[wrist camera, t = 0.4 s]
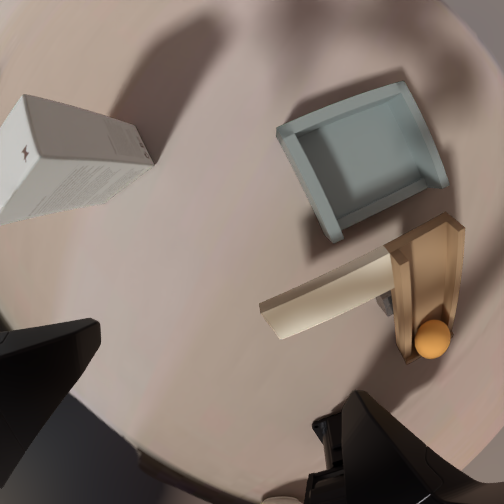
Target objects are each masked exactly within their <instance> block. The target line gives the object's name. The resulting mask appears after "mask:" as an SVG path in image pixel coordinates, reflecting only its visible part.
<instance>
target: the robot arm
mask: <svg viewBox="0 0 504 504" xmlns="http://www.w3.org/2000/svg"><path fill="white" fill-rule="evenodd" d="M100 344H101V328H100V323H99V322H98V321H96V320H94V319H92V318H86V319H80V320H75V321H69V322H63V323H57V324H51V325H45V326H39V327H33V328H26V329H20V330H13V331H10V332H9V331H6V332H0V488H1V489H2V488H3V487H4V485H5V483H6V482H7V480H8V478H9V477H10V475H11V474H12V472H13V470H14V469H15V467H16V466H17V464H18V463H19V461H20V460H21V458H22V457H23V455H24V454H25V451H26V450H27V449H28V447H29V446H30V444H31V443H32V441H33V440H34V439H35V437H36V436H37V434H38V433H39V432H40V430H41V429H42V427H43V426H44V425H45V423H46V422H47V420H48V419H49V418H50V416H51V415H52V414H53V412H54V411H55V409H56V408H57V407H58V405H59V404H60V403H61V401H62V400H63V399H64V397H65V396H66V395H67V394H68V392H69V391H70V390H71V388H72V387H73V386H74V385H75V383H76V382H77V381H78V379H79V378H80V377H81V375H82V374H83V372H84V371H85V369H86V367H87V366H88V364H89V363H90V361H91V359H92V358H93V356H94V355H95V353H96V351H97V350H98V348H99V347H100ZM312 429H313V430H314V432H315V433H316V435H317V436H318V438H319V439H320V441H321V442H322V444H323V445H324V452H325V460H326V468H327V470H325V471H321V472H318V473H311V474H309V477H308V480H307V487H306V494H305V500H304V504H504V482H498V483H482V482H478V481H476V480H474V479H472V478H471V477H469V476H468V475H466V474H465V473H463V472H462V471H460V470H459V469H457V468H456V467H454V466H453V465H451V464H450V463H448V462H447V461H446V460H444V459H443V458H442V457H440V456H439V455H438V454H437V453H435V452H434V451H433V450H432V449H431V448H429V447H428V446H426V444H425V443H423V442H422V441H421V440H420V439H419V438H418V437H416V436H415V435H414V434H413V433H412V432H411V431H409V430H408V429H407V428H406V427H405V426H404V425H403V424H401V423H400V422H399V421H398V420H397V419H396V418H395V417H393V416H392V415H391V414H390V413H389V412H388V411H387V410H385V409H384V408H383V407H382V406H381V405H380V404H379V403H378V402H376V401H375V400H374V399H373V398H372V397H371V396H370V395H369V394H368V393H366V392H365V391H361V390H354V391H353V392H352V393H351V394H350V396H349V398H348V399H347V401H346V403H345V404H344V406H343V409H342V413H339V414H336V415H333V416H331V417H328V418H325V419H322V420H319V421H316V422H314V423H312Z"/></svg>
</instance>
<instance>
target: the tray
mask: <svg viewBox="0 0 504 504" xmlns="http://www.w3.org/2000/svg"><path fill="white" fill-rule="evenodd" d="M276 137H277V139H278V141H279V143H280V144H281V146H282V148H283V150H284V152H285V154H286V156H287V158H288V160H289V162H290V163H291V165H292V167H293V169H294V171H295V173H296V175H297V177H298V179H299V181H300V183H301V185H302V187H303V190H304V192H305V194H306V196H307V198H308V200H309V202H310V204H311V206H312V208H313V211H314V213H315V215H316V217H317V219H318V221H319V224H320V226H321V228H322V230H323V233H324V235H325V236H326V237H327V238H328V239H329V240H330V241H331V242H332V243H333V244H334V243H336V242H338V241H340V240H342V239H344V237H343V234H342V232H341V230H344V229H346V228H348V227H350V226H352V225H354V224H356V223H358V222H360V221H362V220H364V219H366V218H368V217H370V216H372V215H374V214H376V213H378V212H380V211H382V210H384V209H387V208H389V207H391V206H393V205H395V204H397V203H399V202H401V201H403V200H405V199H407V198H409V197H411V196H413V195H415V194H417V193H419V192H420V191H422V190H424V189H426V188H439V189H443V188H445V187H447V186H449V185H450V184H449V181H448V178H447V175H446V172H445V169H444V166H443V164H442V161H441V158H440V156H439V153H438V151H437V148H436V146H435V143H434V141H433V138H432V136H431V134H430V131H429V129H428V127H427V125H426V122H425V120H424V118H423V116H422V114H421V112H420V110H419V108H418V106H417V104H416V102H415V100H414V98H413V96H412V94H411V93H410V91H409V89H408V87H407V85H406V84H405V82H404V81H400V82H397V83H393V84H390V85H386V86H383V87H380V88H377V89H374V90H371V91H368V92H365V93H362V94H359V95H356V96H353V97H350V98H348V99H345V100H342V101H339V102H337V103H334V104H331V105H329V106H326V107H324V108H321V109H319V110H316V111H314V112H311V113H309V114H307V115H304V116H302V117H299V118H297V119H295V120H293V121H290V122H288V123H286V124H284V125H281V126H279V127H277V129H276Z"/></svg>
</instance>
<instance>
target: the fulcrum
mask: <svg viewBox="0 0 504 504" xmlns="http://www.w3.org/2000/svg"><path fill="white" fill-rule="evenodd" d="M376 300H377V303H378V305H379V306H380V307H381V309H382V310H383V311H384V312H385V314H386V315H387V316H390V315H392V314H394V312H393V304H392V296H391V290H389V291H387V292H385V293H383V294H381V295H379V296H377V297H376Z"/></svg>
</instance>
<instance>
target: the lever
mask: <svg viewBox="0 0 504 504" xmlns="http://www.w3.org/2000/svg"><path fill="white" fill-rule="evenodd" d="M464 240H465V227H464V226H463V225H461V224H460V223H459V222H458V221H456V220H455V219H454V218H453V217H452V216H450V215H449V214H448V213H446V212H444V213H442V214H440V215H439V216H437V217H435V218H433V219H431V220H430V221H428V222H426V223H424V224H422V225H421V226H419V227H417V228H415V229H413V230H411V231H410V232H408V233H406V234H404V235H402V236H400V237H398V238H396V239H394V240H393V241H391V242H389V243H387V244H385V245H383V246H381V247H379V248H377V249H375V250H373V251H371V252H369V253H367V254H365V255H363V256H361V257H359V258H357V259H355V260H353V261H351V262H349V263H347V264H345V265H343V266H341V267H339V268H337V269H334V270H332V271H330V272H328V273H326V274H324V275H322V276H320V277H317V278H315V279H313V280H311V281H309V282H307V283H304V284H302V285H300V286H298V287H296V288H293V289H291V290H289V291H287V292H284V293H282V294H280V295H278V296H275V297H273V298H271V299H269V300H266V301H264V302H262V303H259V307H260V313H261V315H262V316H263V317H264V319H265V320H266V321H267V323H268V324H269V325H270V327H271V328H272V329H273V331H274V332H275V333H276V335H277V336H278V337H279V339H280V340H282V339H285V338H287V337H290V336H292V335H295V334H297V333H300V332H302V331H304V330H307V329H309V328H311V327H314V326H316V325H318V324H321V323H323V322H325V321H327V320H330V319H332V318H334V317H336V316H338V315H341V314H343V313H345V312H347V311H349V310H351V309H353V308H355V307H357V306H359V305H361V304H363V303H365V302H367V301H369V300H371V299H373V298H375V297H377V296H379V295H381V294H383V293H385V292H387V291H389V290H391V296H392V304H393V312H394V322H395V333H396V345H397V347H398V349H399V351H400V352H401V354H402V356H403V358H404V360H405V362H406V364H407V365H408V364H409V363H411V362H413V361H415V360H417V359H418V358H420V357H422V356H421V355H420V354H419V353H418V352H417V350H416V347H415V335H416V333H417V331H418V329H419V328H420V326H421V325H422V324H424V323H425V322H427V321H429V320H440V321H442V322H444V323H445V324H446V325H447V326H448V328H449V331H450V336H451V338H452V337H453V332H452V326H453V322H454V317H455V312H456V307H457V301H458V295H459V289H460V282H461V274H462V265H463V255H464ZM451 338H450V339H451Z"/></svg>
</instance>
